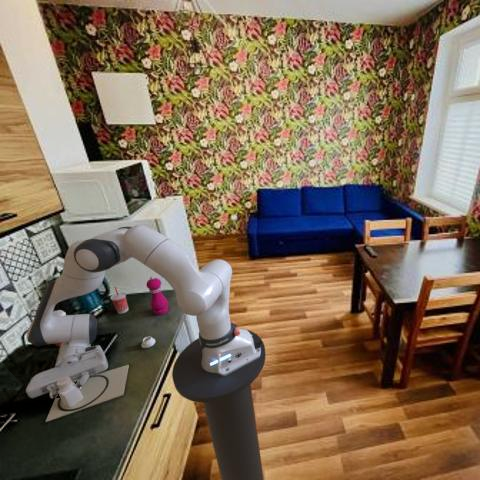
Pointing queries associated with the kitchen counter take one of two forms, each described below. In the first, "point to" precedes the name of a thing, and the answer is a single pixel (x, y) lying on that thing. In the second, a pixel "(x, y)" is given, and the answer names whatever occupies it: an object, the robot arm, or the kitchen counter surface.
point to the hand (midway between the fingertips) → (67, 390)
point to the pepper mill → (157, 296)
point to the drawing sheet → (94, 392)
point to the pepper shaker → (69, 392)
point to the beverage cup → (120, 302)
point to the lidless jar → (148, 342)
